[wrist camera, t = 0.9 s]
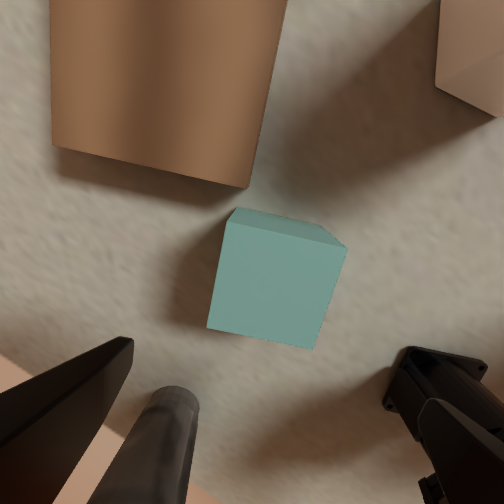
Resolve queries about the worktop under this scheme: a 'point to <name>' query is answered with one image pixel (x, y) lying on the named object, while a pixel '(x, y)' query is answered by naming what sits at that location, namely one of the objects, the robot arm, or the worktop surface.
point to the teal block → (274, 278)
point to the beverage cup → (154, 453)
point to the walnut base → (165, 81)
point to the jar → (472, 53)
